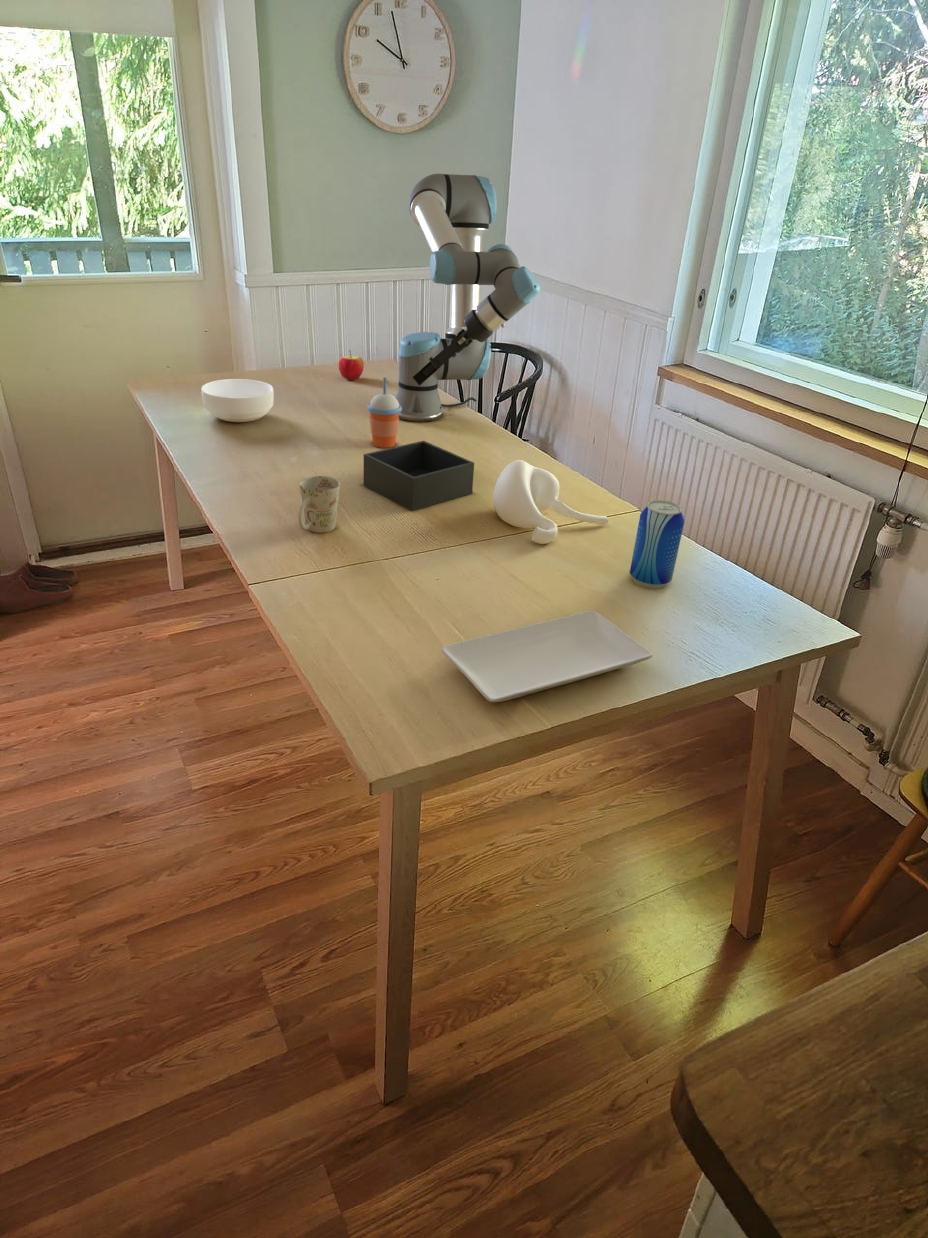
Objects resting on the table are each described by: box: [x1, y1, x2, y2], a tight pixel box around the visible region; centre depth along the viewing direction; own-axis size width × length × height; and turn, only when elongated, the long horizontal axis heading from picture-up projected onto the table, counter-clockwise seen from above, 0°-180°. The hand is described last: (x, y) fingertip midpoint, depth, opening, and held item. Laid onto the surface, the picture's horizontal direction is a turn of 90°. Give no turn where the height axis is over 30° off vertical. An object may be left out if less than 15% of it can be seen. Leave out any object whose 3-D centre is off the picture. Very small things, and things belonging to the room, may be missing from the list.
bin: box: [363, 440, 475, 511], centre depth 200 cm, size 19×19×8 cm
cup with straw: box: [366, 377, 402, 449], centre depth 223 cm, size 9×9×18 cm
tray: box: [441, 610, 653, 703], centre depth 137 cm, size 17×32×4 cm, turn 119°
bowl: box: [200, 378, 275, 423], centre depth 238 cm, size 20×20×8 cm
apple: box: [337, 349, 365, 381], centre depth 280 cm, size 8×8×10 cm
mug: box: [298, 475, 341, 534], centre depth 175 cm, size 8×13×10 cm, turn 161°
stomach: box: [493, 459, 609, 545], centre depth 188 cm, size 23×13×24 cm
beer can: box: [629, 499, 685, 590], centre depth 164 cm, size 8×8×16 cm
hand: (423, 374), depth 216 cm, fingers open, 13 cm apart
